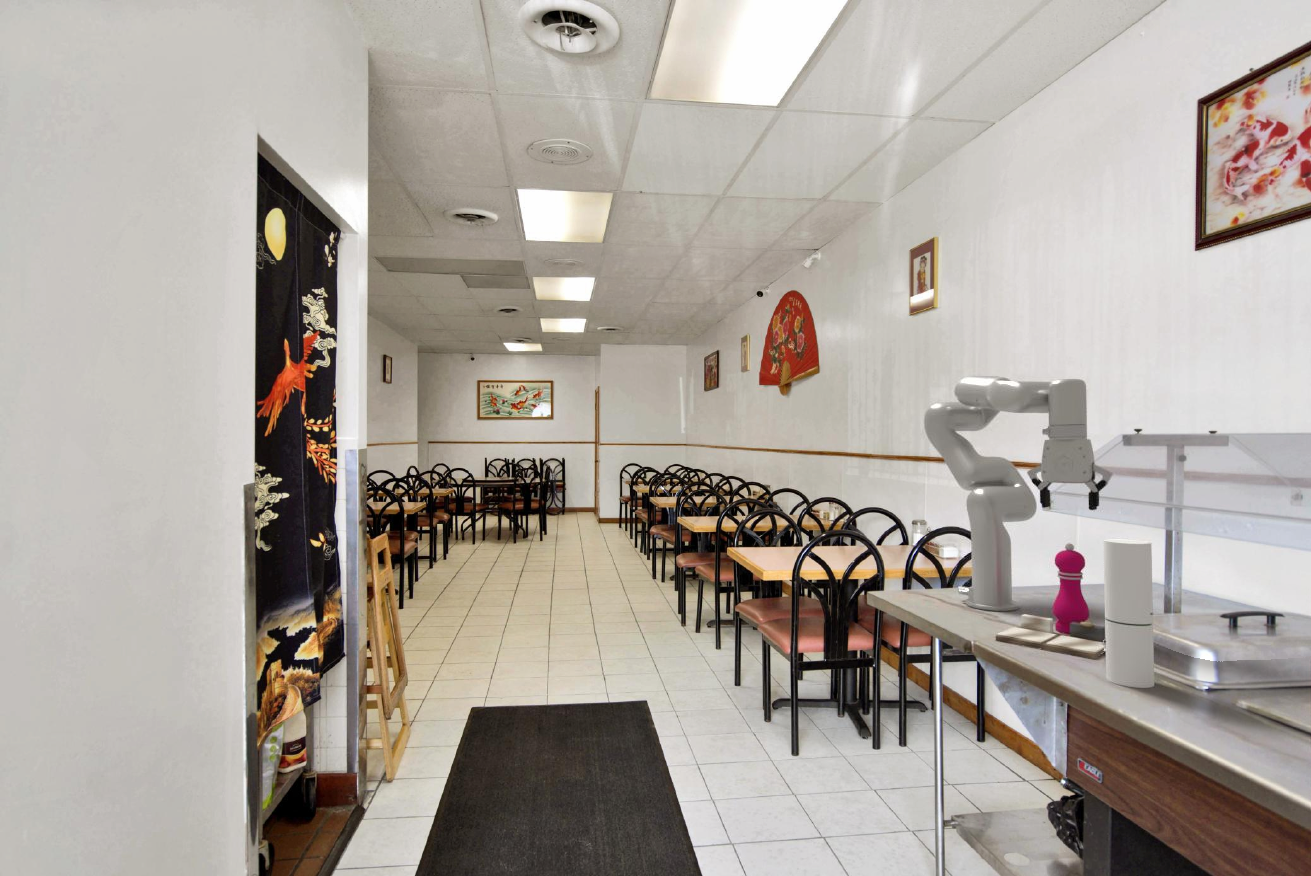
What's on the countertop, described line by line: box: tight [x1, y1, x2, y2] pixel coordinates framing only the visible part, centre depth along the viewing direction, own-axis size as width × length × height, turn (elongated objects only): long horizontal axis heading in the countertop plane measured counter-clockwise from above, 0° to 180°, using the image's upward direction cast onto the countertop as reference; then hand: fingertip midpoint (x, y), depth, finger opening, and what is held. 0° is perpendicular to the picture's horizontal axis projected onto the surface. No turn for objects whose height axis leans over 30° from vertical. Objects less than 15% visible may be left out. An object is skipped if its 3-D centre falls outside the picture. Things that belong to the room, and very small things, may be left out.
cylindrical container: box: [1102, 538, 1155, 689], centre depth 125 cm, size 7×7×25 cm
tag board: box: [995, 613, 1105, 660], centre depth 149 cm, size 19×12×4 cm, turn 42°
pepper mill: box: [1052, 542, 1090, 635], centre depth 160 cm, size 7×7×20 cm
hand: (1068, 508), depth 160 cm, fingers open, 9 cm apart
